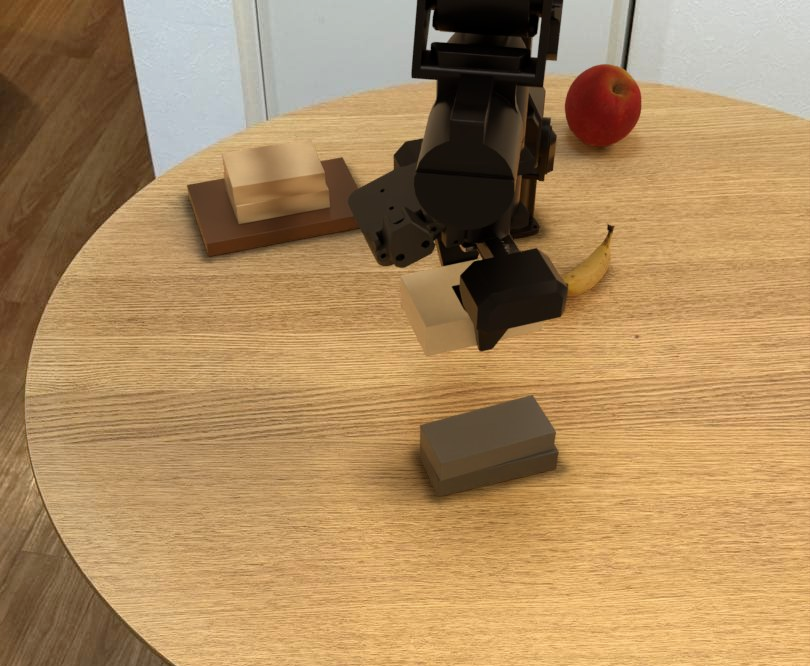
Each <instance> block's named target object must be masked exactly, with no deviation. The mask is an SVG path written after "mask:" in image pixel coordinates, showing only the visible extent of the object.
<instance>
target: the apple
mask: <svg viewBox="0 0 810 666" xmlns="http://www.w3.org/2000/svg"><path fill="white" fill-rule="evenodd" d="M641 113H642V93H641V89H640V87H639V85H638V83H637V81H636V80H635V78H633V76H632V75H631V74H630V73H629V72H628V71H627V70H626V69H624V68H623V67H621V66H618V65H614V64H610V63H609V64H607V63H602V64H596V65H593V66H591V67H589V68H586V69H585V70H583V71H582V72H580V74H578V75H577V77H575V78H574V80H573V81H572V82H571V84H570V86H569V88H568V90H567V93H566V95H565V101H564V115H565V120H566V123H567V125H568V128H569V130H570V131H571V133H572V134H573V135H574V136H575V137H576V138H577V139H578V140H580V141H581V142H582V143H584V144H585V145H587V146H589V147H594V148H595V147H607V146H612V145H615V144H616V143H618V142H620V141H622V140H623V139H624V138H626V137H627V136H628V135H629V134H630V133H631V132H632V131H633V130H634V129H635V127H636V125H637V124H638V122H639V120H640V117H641Z"/></svg>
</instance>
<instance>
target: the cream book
mask: <svg viewBox="0 0 810 666" xmlns="http://www.w3.org/2000/svg"><path fill="white" fill-rule="evenodd" d="M478 260H482V258H481V257H480V258H478V259H476V260H471V261H466V262H462V263H457V264H452V265H447V266H443V267H441V266H439V267H438V266H437V267H434V268H433V267H432V268H429V269H424V270H420V271H415V272H410V273H405V274H401V275H400V277H399V278H400V279H399V280H400V283H399V284H400V306H401V309H402V311H403V312H404V314H405V316H406V319H407V321H408V323H409V325H410V327H411V329H412V331H413V334H414V335H415V337H416V339H417V341H418V343H419V345H420V348H421V349H422V351H423V354H424V355H425V357H426V358H427V357H431V356H436V355H441V354H445V353H448V352H453V351H454V352H455V351H458V350H462V349H467V348H471V347H477V342H476V337H475V330H474V324H473V322H472V321H471V319H470V317H469V315H468V313H467V312H466V311H465V310H464V309H463V307H462V305H461V303H460V302H459V300H458V298H457V296H456V294H455V292H454V291H453V289H452V286H455V285H460V275H461V274H462V273H463V272H464V271H465V270H466V269H467V268H468V267H469V266H470V265H471V264H472V263H473V262H474V261H478ZM543 327H544V321H541V322H537V323H532V324H528V325H523V326H519V327H514V328H510V329H508V330H507V331H506V333H505V334H504V335H503V336H502V338H501V339H500V340H499V341H502V340H506V339H511V338H515V337H520V336H524V335H529V334H533V333H538V332H542V331H543Z"/></svg>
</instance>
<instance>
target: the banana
mask: <svg viewBox="0 0 810 666" xmlns="http://www.w3.org/2000/svg"><path fill="white" fill-rule="evenodd" d="M614 229H615V225H612V224H609V223H607V224H606V230H607V235H606V236H605V238H604V239H603V242H602V243H601V244H599V246H597V247H596V248H595V250H594V251H593V252H591V254H590V255H589V256H588V257H587V258H585V259H584V260H583V261H582V262H580V263H579V264H578V265H577V266H576V267H574V269H572V270H571V271H568V272H567V273H565V274H564V275H563V276H561V277H562V279H563V280H564V282H565V283H566V285H567V287H568V294H567V296H578V295H580V294H583V293H586V292H587V291H590V290H591V289H592V288H593V287H595V285H597V284H598V283H599V281H601V279H602V278H603V277H604V276H605V274H606V272H607V271H608V269H609V266H610V264H611V263H610V262H611V256H612V254H611V253H612V252H611V241H612V237H613V232H614Z"/></svg>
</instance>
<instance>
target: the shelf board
mask: <svg viewBox="0 0 810 666" xmlns="http://www.w3.org/2000/svg"><path fill="white" fill-rule="evenodd" d="M221 159H222V166H223V172H222V173H223V178H218V179H213V180H207V181H206V180H205V181H201V182H194V183H189V184H187V185H186V188H187V194H188V199H189V202H190V206H191V208H192V211H193V214H194V217H195V220H196V223H197V225H198V229H199V232H200V234H201V237H202V241H203V243H204V247H205V249H206V252H207V256H208V257H215V256H218V255H219V256H220V255H225V254H229V253H236V252H239V251H246V250H251V249H256V248H261V247H267V246H271V245H277V244H282V243H287V242H292V241H293V242H294V241H298V240H303V239H309V238H314V237H320V236H324V235H330V234H335V233H340V232H346V231H351V230H356V229H360V228H359V226H358V224H357V222H356V220H355V218H354V215H353V213H352V211H351V209H350V207H349V205H348V198H349V196H350V195H351V194H352V193H353V192H354V191H355V190H357V189H358V188H359V187H358V185H357V183H356V181H355V179H354V177H353V175H352V173H351V171H350V169H349V167H348V165H347V163H346V161H345V159H344V157H343V156H341V157H335V158H329V159H324V160H320V157H319V154H318V152H317V149H316V147H315V145H314V143H313V140H312V138H309V139H302V140H297V141H296V140H295V141H290V142H284V143H283V142H282V143H276V144H271V145H264V146H257V147H251V148H245V149H237V150H231V151H230V150H229V151H225V152H221Z"/></svg>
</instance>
